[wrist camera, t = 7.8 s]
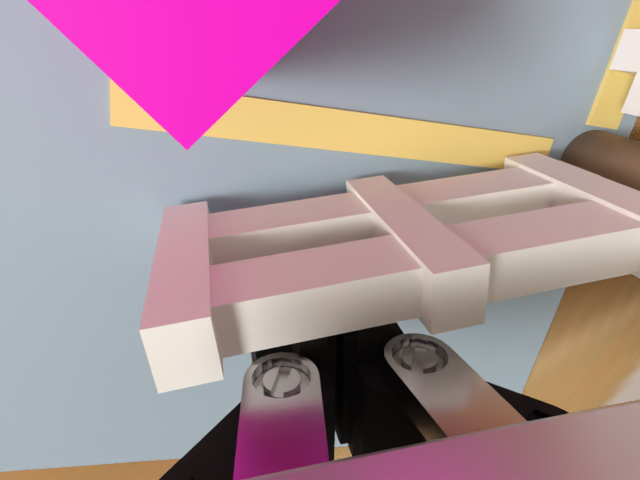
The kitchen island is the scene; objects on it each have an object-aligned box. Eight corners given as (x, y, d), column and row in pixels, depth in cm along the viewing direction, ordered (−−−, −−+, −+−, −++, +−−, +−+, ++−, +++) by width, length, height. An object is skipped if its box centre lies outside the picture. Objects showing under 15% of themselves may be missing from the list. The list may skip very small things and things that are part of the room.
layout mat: (500, 428, 18) (506, 437, 18) (-6, 463, 14) (-12, 477, 13) (684, -21, 12) (701, -23, 12) (-116, -243, 8) (-134, -258, 7)
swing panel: (545, 151, 13) (728, 217, 8) (539, 192, 13) (708, 275, 9) (164, 207, 11) (139, 330, 7) (175, 251, 11) (158, 393, 7)
